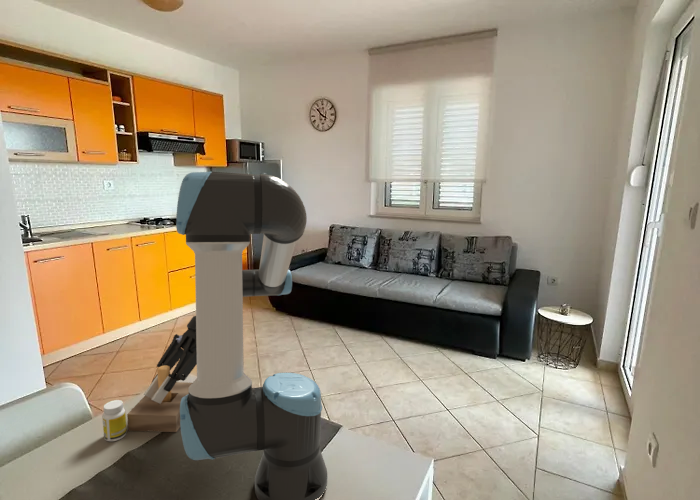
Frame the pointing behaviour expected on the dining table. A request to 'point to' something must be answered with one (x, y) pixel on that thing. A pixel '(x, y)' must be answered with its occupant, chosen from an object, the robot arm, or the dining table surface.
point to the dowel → (162, 374)
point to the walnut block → (158, 412)
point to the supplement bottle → (114, 421)
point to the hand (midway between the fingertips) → (152, 399)
